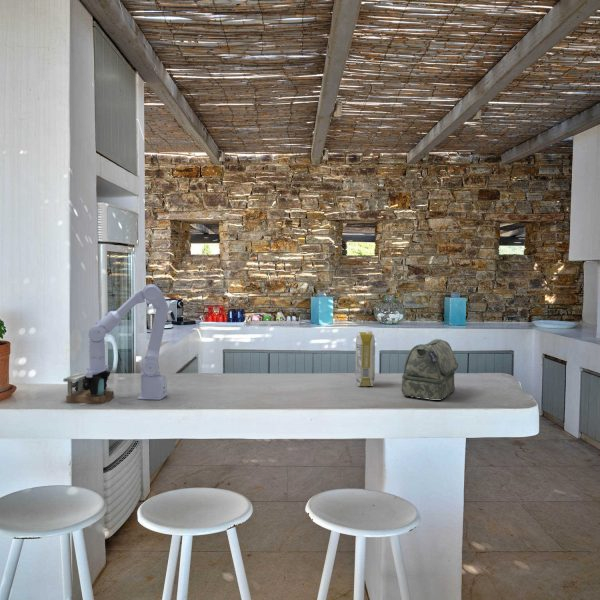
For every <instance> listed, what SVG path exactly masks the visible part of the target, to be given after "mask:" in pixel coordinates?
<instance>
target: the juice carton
mask: <svg viewBox="0 0 600 600" xmlns="http://www.w3.org/2000/svg"><path fill="white" fill-rule="evenodd" d="M375 361H376V338H375V335H374V334H373V331H372V330H365V331H363V332H362V331H361V332H360V331H359V332H357V333H356V338H355V370H354V372H355V381H356V384H357V387H358V386H373V387H374V383H375V375H376V374H375V373H376V372H375V370H376V367H375V366H376V362H375Z"/></svg>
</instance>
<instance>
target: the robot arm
mask: <svg viewBox="0 0 600 600" xmlns="http://www.w3.org/2000/svg"><path fill="white" fill-rule="evenodd" d="M145 300H146V301H147V302H148V303H150V304H151V305H152V307H153V308H154V309H155V311H154V313H155V314H154V318H153V324H152V327H151V331H150V337H149V341H148V346H147V350H146V354H145V356H144V358H143V359H142V362H141V370H142V372H141V373H140V395H139V396H138V397H136V399H137V400H157V401H158V400H159V401H161V400H162V399H164V398H165V397H166V396H168V393H167V389H168V388H167V387H168V386H167V384H168V383H167V381H168V380H167V377H166V375H162V374H161V373H160V371H159V368H160V367H159V356H160V351H161V346H162V341H163V337H164V333H165V326H166V321H167V318H168V313H169V305H168V303H167V302H168V301H167V300H166V298H165V296H164V293H163V292H162V290H161V289H160V288H159V286H157V285H156V284H154V283H153V284H152V283H149V284H146V285H145V286H144V287H143V288H141V289H139V290H138V291H136V292H135V293H133V294H132V295H131V297H129V298H128V299H127V300H126V301H125V302H123V304H122V305H120V306H119V308H117V310H110V311H108V312H107V311H106V312H105V313H104V316H103V317H102V318H101V319H100V320H99V321H96V322H95V323H94V325H93V326H92V327H91V328H90V329H89V330H88V338H89V346H88V347H89V349H88V354H89V355H88V356H89V367H88V368H86V372H85V374H86V376H85V380H86V382H87V384H88V386H89V389H90V393H91V395H97V392H98V384H99V380H100V378H101V379H104V391H106V389H107V387H106V384H107V383H108V379H109V376H110V375H111V371H109V364H106V344H105V337H106V335H107V334H110V333H111V332H112V331H113V330H114V329H115V328H117V326H119V324H121V323H122V317H123V316H125V315H126V314H127V313H128V312H130V311H131V310H132V309H133V308H134V307H135V306H136V305H138V304H141V303H145V302H146V301H145ZM105 388H106V389H105ZM89 389H88V390H89Z"/></svg>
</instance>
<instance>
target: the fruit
mask: <svg viewBox="0 0 600 600" xmlns="http://www.w3.org/2000/svg"><path fill="white" fill-rule="evenodd" d="M108 380H110V378H108ZM108 380H107V381H108ZM107 387H108V384H107V383H106V388H105V390H106V389H107ZM72 389H74V390H75V392H76V391H78V381H77V382H72ZM83 390H90V389H89V386H88V384H87V382H86V380H85V378H84V379H83Z"/></svg>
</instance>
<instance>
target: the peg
mask: <svg viewBox="0 0 600 600" xmlns="http://www.w3.org/2000/svg"><path fill="white" fill-rule="evenodd" d="M104 391H105V390H104V379H101V378H100V380H99V384H98V392H97V395H103V394H104Z"/></svg>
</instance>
